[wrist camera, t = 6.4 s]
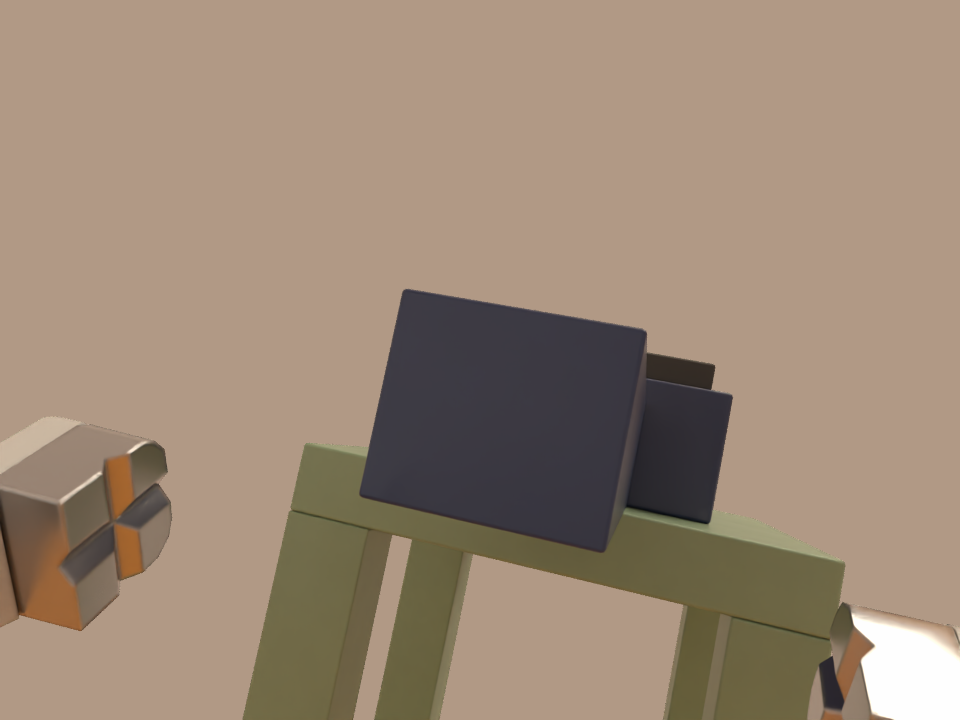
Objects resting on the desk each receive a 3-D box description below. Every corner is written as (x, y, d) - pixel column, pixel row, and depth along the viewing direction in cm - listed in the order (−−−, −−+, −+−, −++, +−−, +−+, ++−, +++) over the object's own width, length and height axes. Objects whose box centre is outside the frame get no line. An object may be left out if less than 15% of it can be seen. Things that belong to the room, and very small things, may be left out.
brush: (791, 598, 9) (852, 245, 9) (208, 462, 10) (278, 165, 10) (689, 506, 28) (709, 396, 28) (494, 465, 30) (516, 360, 30)
